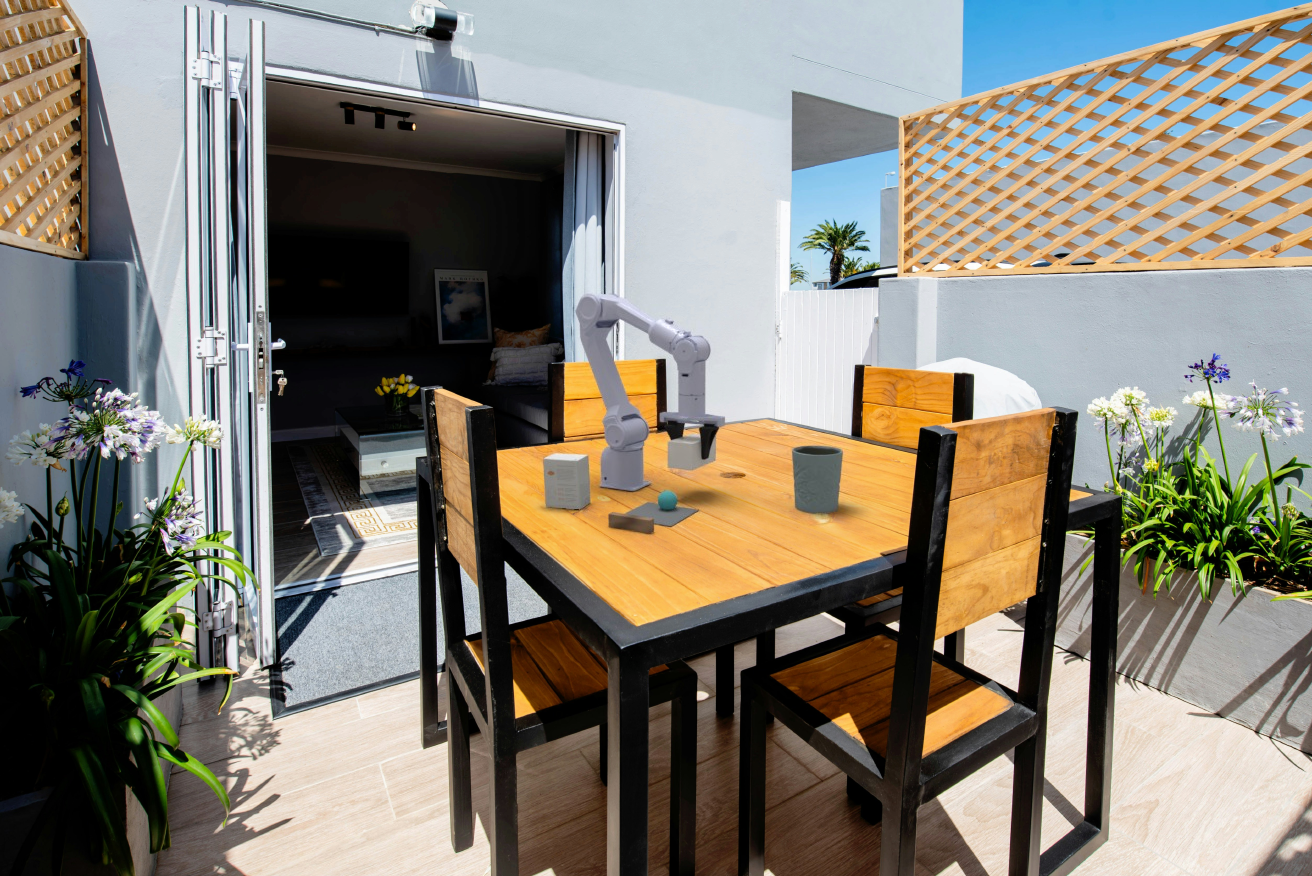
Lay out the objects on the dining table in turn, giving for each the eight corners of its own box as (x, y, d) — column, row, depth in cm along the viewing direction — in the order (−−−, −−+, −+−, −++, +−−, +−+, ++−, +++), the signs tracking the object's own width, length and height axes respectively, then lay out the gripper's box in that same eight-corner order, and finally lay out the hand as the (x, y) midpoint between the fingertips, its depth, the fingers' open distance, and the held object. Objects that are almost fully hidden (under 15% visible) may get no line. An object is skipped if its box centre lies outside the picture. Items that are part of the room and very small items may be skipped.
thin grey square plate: (616, 518, 139) (616, 517, 139) (647, 502, 149) (647, 502, 149) (670, 527, 133) (670, 525, 133) (699, 510, 143) (699, 509, 143)
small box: (591, 503, 150) (589, 454, 148) (579, 510, 144) (578, 460, 142) (557, 500, 152) (555, 452, 150) (544, 507, 147) (542, 457, 145)
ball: (656, 488, 143) (664, 491, 147) (652, 507, 142) (661, 511, 146) (673, 489, 141) (682, 493, 145) (670, 509, 140) (678, 513, 144)
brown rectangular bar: (608, 526, 134) (608, 513, 133) (613, 524, 135) (612, 511, 134) (650, 533, 129) (649, 520, 129) (654, 531, 131) (653, 518, 130)
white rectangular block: (667, 467, 149) (667, 441, 148) (692, 458, 159) (692, 433, 158) (691, 470, 146) (692, 443, 145) (715, 460, 156) (716, 435, 155)
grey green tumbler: (812, 517, 138) (814, 457, 136) (780, 504, 147) (781, 447, 145) (851, 509, 143) (854, 451, 140) (818, 497, 151) (820, 442, 149)
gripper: (652, 394, 150) (653, 457, 152) (715, 398, 143) (714, 464, 145) (668, 390, 156) (668, 451, 158) (729, 394, 149) (728, 457, 151)
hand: (691, 457), depth 152 cm, fingers closed on white rectangular block, 6 cm apart
